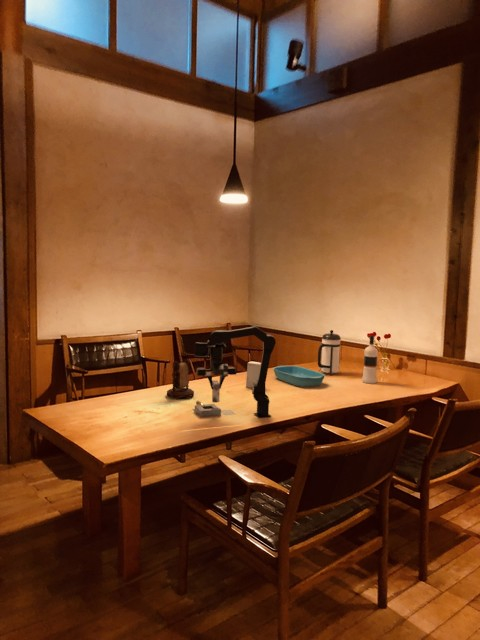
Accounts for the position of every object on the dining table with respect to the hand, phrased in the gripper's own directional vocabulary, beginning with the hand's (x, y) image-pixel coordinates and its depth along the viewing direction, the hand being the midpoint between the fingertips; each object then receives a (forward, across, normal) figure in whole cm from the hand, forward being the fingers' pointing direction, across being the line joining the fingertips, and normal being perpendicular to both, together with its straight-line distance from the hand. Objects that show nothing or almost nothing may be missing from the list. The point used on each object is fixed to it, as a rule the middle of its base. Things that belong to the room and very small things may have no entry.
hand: (216, 388), depth 250 cm
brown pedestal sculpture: (+13, -13, +36) cm, 40 cm away
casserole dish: (+14, +64, +64) cm, 92 cm away
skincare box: (+13, +32, +53) cm, 63 cm away
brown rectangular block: (+6, 0, 0) cm, 6 cm away
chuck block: (+13, -5, +5) cm, 14 cm away
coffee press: (+14, +93, +84) cm, 126 cm away
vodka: (+14, +110, +58) cm, 125 cm away
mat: (+13, +6, +1) cm, 14 cm away
